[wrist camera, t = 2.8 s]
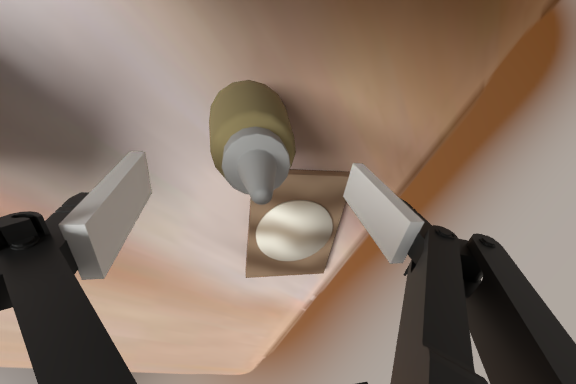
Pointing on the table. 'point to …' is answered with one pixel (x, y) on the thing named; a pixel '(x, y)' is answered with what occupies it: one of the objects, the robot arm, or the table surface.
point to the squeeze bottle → (251, 139)
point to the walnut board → (296, 224)
